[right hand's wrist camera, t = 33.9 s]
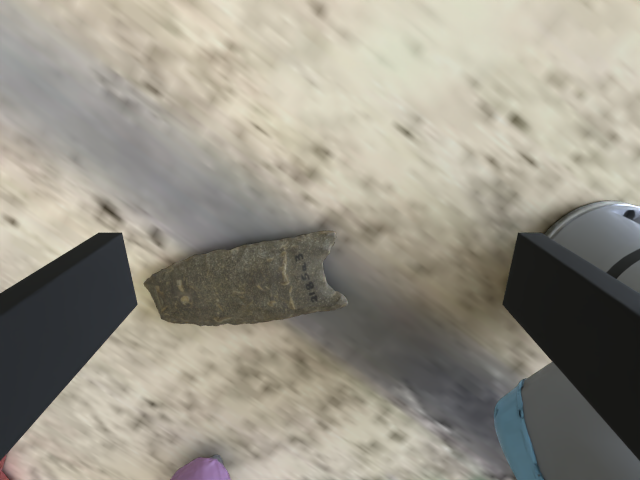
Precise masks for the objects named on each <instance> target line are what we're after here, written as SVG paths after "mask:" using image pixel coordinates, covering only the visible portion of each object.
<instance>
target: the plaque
mask: <svg viewBox="0 0 640 480" xmlns="http://www.w3.org/2000/svg"><path fill="white" fill-rule="evenodd" d="M5 459H6V455H5V456H4V457H3V459H2V460H1V461H0V480H9V479H8V478H7V476H6V475H5V474H4V473H3V471H2V468H3V465H4V462H5Z"/></svg>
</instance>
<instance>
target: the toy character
mask: <svg viewBox="0 0 640 480" xmlns="http://www.w3.org/2000/svg"><path fill="white" fill-rule="evenodd" d="M170 480H231V479H230V476H229V473H228V472H227V470H226V468H225V467H224V464H223V460H222V458H221V456H220V455H214V456H212V457H210V458H200V457H199V458H196V459H194V460H193V461H191V462H190V463H188V464H186V465H184V466H183V467H181V468H180V469H178V470H177V471H176V472H175V474H174V475H173V477H172V478H171V479H170Z"/></svg>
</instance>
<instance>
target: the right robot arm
mask: <svg viewBox="0 0 640 480" xmlns="http://www.w3.org/2000/svg"><path fill="white" fill-rule="evenodd" d="M137 305H138V304H137V300H136V295H135V291H134V286H133V281H132V277H131V272H130V268H129V263H128V258H127V254H126V249H125V244H124V240H123V235H122V233H98V234H96V235H94V236H93V237H91V238H89V239H88V240H86V241H85V242H83V243H81V244H80V245H78V246H77V247H75V248H73V249H72V250H70V251H68V252H67V253H65V254H64V255H62V256H60V257H59V258H57V259H55V260H54V261H52V262H51V263H49V264H47V265H46V266H44V267H42V268H41V269H39V270H38V271H36V272H34V273H33V274H31V275H29V276H28V277H26V278H25V279H23V280H21V281H20V282H18V283H16V284H15V285H13V286H12V287H10V288H8V289H7V290H5V291H3V292H2V293H0V461H1V460H2V459H3V457H4V456H5V455H6V454H7V453H8V452H9V451H10V449H11V448H12V447H13V446H14V445H15V444H16V443H17V441H18V440H19V439H20V438H21V437H22V436H23V435H24V433H25V432H26V431H27V430H28V429H29V428H30V427H31V425H32V424H33V423H34V422H35V421H36V420H37V419H38V417H39V416H40V415H41V414H42V413H43V412H44V411H45V409H46V408H47V407H48V406H49V405H50V404H51V403H52V401H53V400H54V399H55V398H56V397H57V396H58V395H59V394H60V392H61V391H62V390H63V389H64V388H65V387H66V386H67V384H68V383H69V382H70V381H71V380H72V379H73V378H74V376H75V375H76V374H77V373H78V372H79V371H80V370H81V368H82V367H83V366H84V365H85V364H86V363H87V362H88V360H89V359H90V358H91V357H92V356H93V355H94V354H95V352H96V351H97V350H98V349H99V348H100V347H101V346H102V344H103V343H104V342H105V341H106V340H107V339H108V338H109V336H110V335H111V334H112V333H113V332H114V331H115V330H116V328H117V327H118V326H119V325H120V324H121V323H122V322H123V321H124V319H125V318H126V317H127V316H128V315H129V314H130V313H131V311H132V310H133V309H134V308H135V307H136V306H137ZM502 305H503V306H504V307H505V308H506V309H507V310H508V311H509V313H510V314H511V315H512V316H513V317H514V318H515V319H516V321H517V322H518V323H519V324H520V325H521V326H522V327H523V328H524V330H525V331H526V332H527V333H528V334H529V335H530V336H531V338H532V339H533V340H534V341H535V342H536V343H537V344H538V346H539V347H540V348H541V349H542V350H543V351H544V352H545V354H546V355H547V356H548V357H549V358H550V359H551V360H552V362H551V363H550V364H548V365H547V366H545V367H544V368H542V369H541V370H539V371H538V372H536V373H535V374H533V375H532V376H530V377H529V378H526V379H523V380H521V381H520V382H519V384H518V386H517V387H515V388H514V389H513V390H512V391H511V392H509V393H508V394H507V395H505V396H504V397H503V398H501V399H500V400H499V401H498V403H497V404H496V406H495V410H494V422H495V424H494V425H495V429H496V433H497V436H498V439H499V442H500V445H501V447H502V450H503V452H504V455H505V457H506V459H507V461H508V463H509V465H510V467H511V469H512V471H513V473H514V475H515V476H516V478H517V480H640V207H637V206H634V205H631V204H629V203H625V202H620V201H601V202H595V203H591V204H588V205H585V206H582V207H580V208H577V209H575V210H573V211H571V212H570V213H568V214H566V215H565V216H563V217H562V218H561V219H559V220H558V221H557V222H556V223H555V224H553V225H552V226H551V227H550V228H549V229H548V231H547V232H546V233H545V234H542V233H518V235H517V240H516V244H515V249H514V254H513V258H512V263H511V268H510V272H509V277H508V281H507V286H506V291H505V295H504V300H503V304H502Z"/></svg>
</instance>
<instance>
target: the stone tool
mask: <svg viewBox="0 0 640 480" xmlns="http://www.w3.org/2000/svg"><path fill="white" fill-rule="evenodd" d="M335 239H336V232H334V231H319V232H312V233H310V234H304V235H299V236H296V237H294V238H284V239H281V240H273V241H262V242H259V243H254V244H245V245H242V246H239V247H236V248H233V249H231V250H224V249H221V250H220V249H218V250H215V251H211V252H209V253H207V254H201V255H193V256H191V257H189V258H188V259H185V260H182V261H180V262H177V263H173V264H172V265H171V266H169V267H167V268H166V269H162V270H161V271H159V272H157V273H155V274H153V275H152V276H151V277H150V278H148V279H147V280H146V281H145V282H144V286H145V287H146V288H147V289H148V290H149V292H150V293H151V296H152V298H153V300H154V302H155V304H156V307H157V309H158V311H159V313H160V316H161V319H163V320H165V321H167V322H172V323H179V324H185V323H189V324H196V325H199V326H204V325H207V326H219V325H222V324H227V323H228V324H232V325H239V324H244V323H246V324H247V323H250V324H254V323H259V322H268V321H272V320H283V319H286V318H291V317H295V316H299V315H302V314H309V313H314V312H321V311H330V310H336V309H338V308H343V307H345V306H347V305H348V301H347V299H346V297H345V296H344V295H343V294H341V293H339V292H338V291H334V290H333V289H332V288H331V287H330V286H329V285H328V284H327V281H326V277H325V274H324V269H323V264H322V263H323V261H324V260H325V258H326V257H327V256H328V255H329V254H330V248H331V247H332V246H333V245H334V243H335V242H334V241H335Z"/></svg>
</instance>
